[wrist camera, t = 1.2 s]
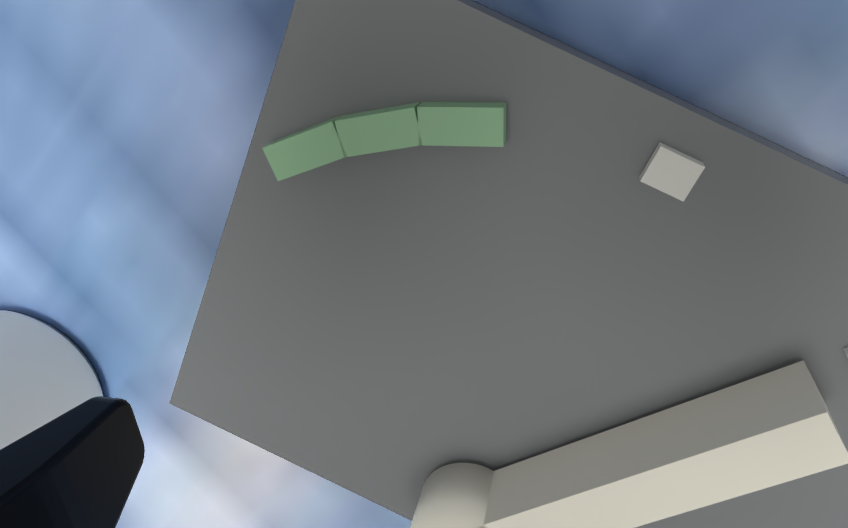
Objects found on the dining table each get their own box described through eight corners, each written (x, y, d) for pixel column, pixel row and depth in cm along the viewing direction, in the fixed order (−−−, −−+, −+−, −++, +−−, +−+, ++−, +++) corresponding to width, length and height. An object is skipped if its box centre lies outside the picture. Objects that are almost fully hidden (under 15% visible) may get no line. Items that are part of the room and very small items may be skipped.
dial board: (722, 648, 27) (729, 689, 25) (183, 386, 27) (160, 413, 26) (1074, 284, 19) (1111, 314, 18) (329, -67, 20) (308, -66, 18)
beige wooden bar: (453, 551, 26) (439, 608, 24) (403, 480, 25) (384, 533, 23) (838, 428, 21) (864, 486, 19) (791, 336, 20) (813, 385, 18)
